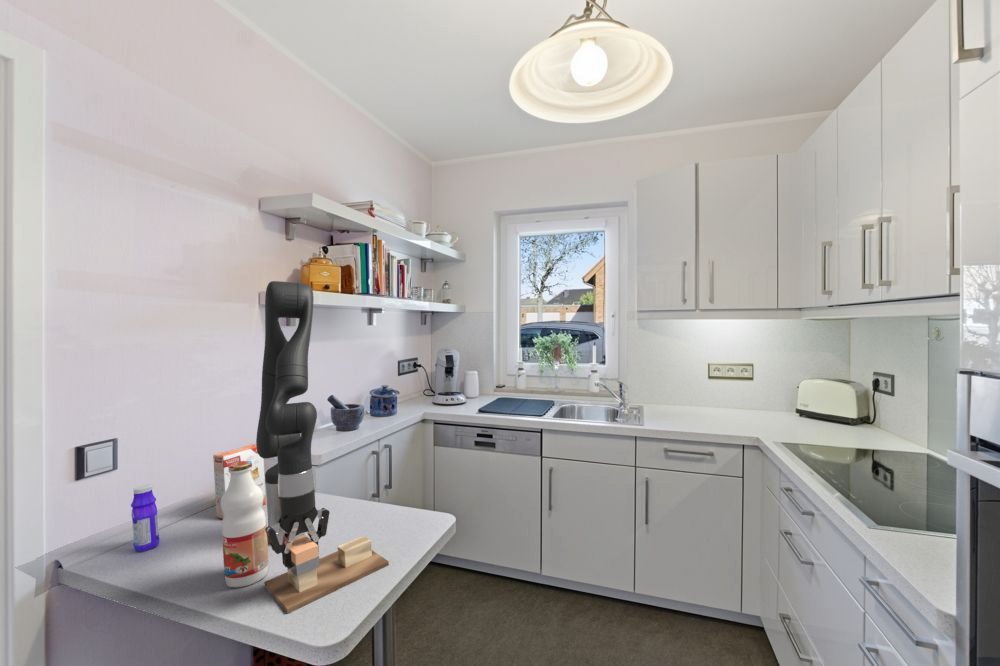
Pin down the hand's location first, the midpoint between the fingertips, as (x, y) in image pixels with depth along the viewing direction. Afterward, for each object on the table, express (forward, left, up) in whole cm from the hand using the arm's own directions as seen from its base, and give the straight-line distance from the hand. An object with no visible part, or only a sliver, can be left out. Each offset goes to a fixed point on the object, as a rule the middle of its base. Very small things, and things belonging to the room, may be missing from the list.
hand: (301, 561), depth 102 cm
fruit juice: (-15, -7, -6) cm, 18 cm away
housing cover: (0, 0, +2) cm, 2 cm away
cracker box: (-62, +4, -6) cm, 62 cm away
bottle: (-56, -22, -6) cm, 61 cm away
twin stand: (0, +6, -6) cm, 8 cm away
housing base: (0, 0, -1) cm, 1 cm away
